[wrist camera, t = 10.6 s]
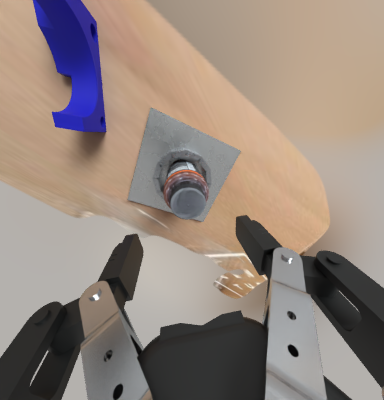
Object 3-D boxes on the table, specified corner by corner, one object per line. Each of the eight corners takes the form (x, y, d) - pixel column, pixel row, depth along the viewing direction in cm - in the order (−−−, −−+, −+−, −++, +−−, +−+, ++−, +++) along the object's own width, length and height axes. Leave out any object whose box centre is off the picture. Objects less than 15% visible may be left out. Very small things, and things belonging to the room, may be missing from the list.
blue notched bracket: (54, 10, 16) (-8, -52, 10) (96, 22, 17) (59, -30, 11) (74, 126, 21) (40, 124, 16) (106, 131, 22) (84, 131, 16)
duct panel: (128, 197, 27) (122, 207, 23) (151, 108, 21) (147, 103, 17) (202, 219, 31) (205, 230, 27) (239, 150, 25) (249, 153, 21)
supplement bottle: (201, 188, 26) (216, 222, 16) (170, 193, 26) (167, 231, 16) (197, 156, 24) (212, 174, 14) (163, 162, 24) (153, 185, 14)
